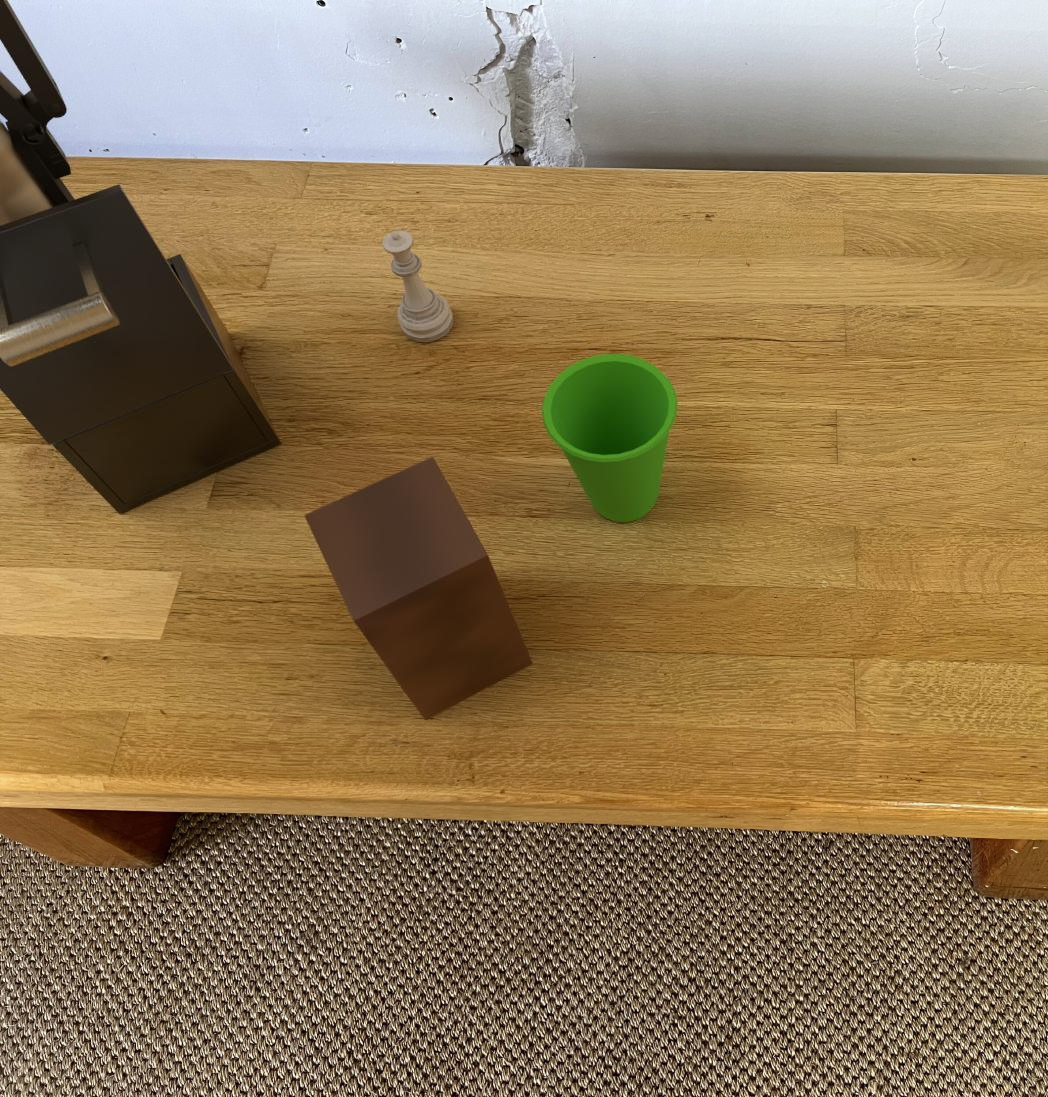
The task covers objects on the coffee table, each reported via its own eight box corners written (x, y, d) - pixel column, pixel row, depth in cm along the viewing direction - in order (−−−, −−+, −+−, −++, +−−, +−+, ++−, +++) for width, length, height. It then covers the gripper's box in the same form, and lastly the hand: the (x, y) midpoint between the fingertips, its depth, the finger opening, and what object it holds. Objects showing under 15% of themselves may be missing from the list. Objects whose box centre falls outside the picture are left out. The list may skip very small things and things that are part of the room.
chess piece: (464, 316, 87) (434, 224, 78) (432, 350, 85) (398, 260, 76) (423, 297, 88) (389, 205, 79) (390, 331, 86) (352, 240, 77)
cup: (672, 553, 75) (663, 468, 66) (552, 537, 76) (526, 450, 66) (693, 455, 80) (688, 361, 70) (580, 440, 80) (559, 345, 71)
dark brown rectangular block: (425, 720, 68) (353, 621, 56) (380, 628, 72) (303, 514, 59) (533, 663, 71) (488, 554, 58) (485, 577, 74) (432, 456, 61)
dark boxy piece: (76, 393, 83) (9, 317, 75) (229, 332, 86) (180, 253, 78) (119, 514, 77) (52, 445, 69) (281, 444, 80) (234, 370, 73)
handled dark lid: (-107, 262, 58) (-96, 349, 53) (119, 183, 61) (149, 258, 56) (47, 437, 69) (68, 522, 64) (230, 363, 72) (263, 438, 68)
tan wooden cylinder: (19, 268, 65) (-77, 149, 57) (6, 230, 67) (-90, 110, 59) (83, 245, 66) (-3, 125, 58) (69, 208, 68) (-17, 87, 60)
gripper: (-80, -252, 50) (155, 152, 70) (-488, -158, 45) (-111, 244, 65) (-51, -187, 46) (187, 217, 67) (-488, -78, 42) (-91, 319, 62)
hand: (39, 230), depth 66 cm, fingers closed on tan wooden cylinder, 4 cm apart
